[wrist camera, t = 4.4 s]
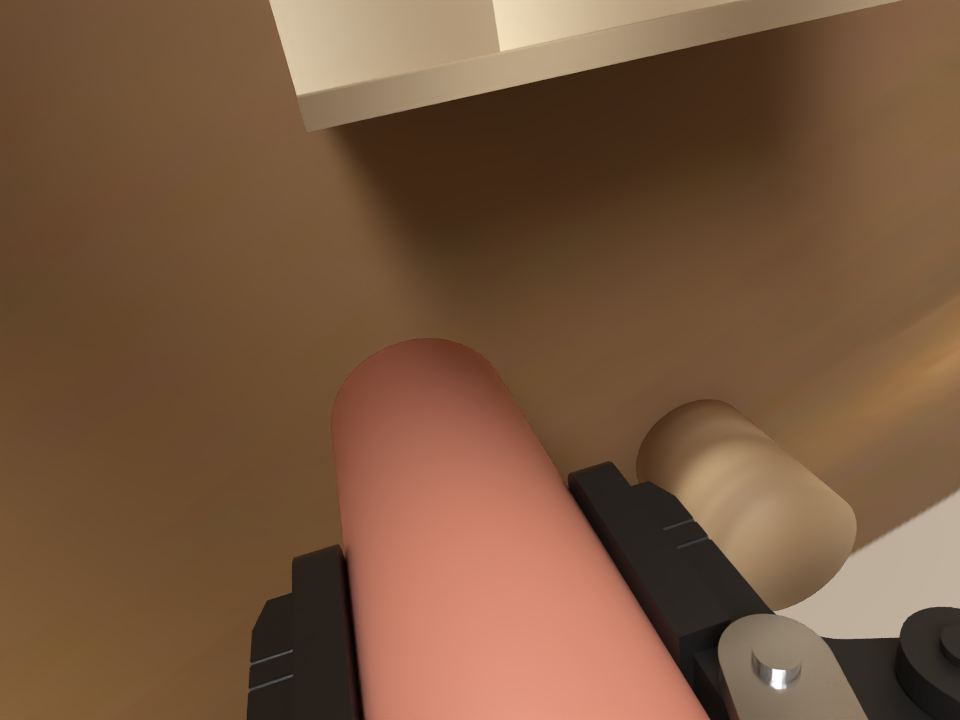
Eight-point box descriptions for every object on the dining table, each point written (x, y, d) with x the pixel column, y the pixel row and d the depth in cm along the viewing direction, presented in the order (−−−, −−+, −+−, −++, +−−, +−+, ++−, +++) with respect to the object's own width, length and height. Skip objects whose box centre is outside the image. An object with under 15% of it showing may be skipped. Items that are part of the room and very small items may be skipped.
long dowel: (357, 513, 16) (495, 1485, 5) (307, 366, 14) (370, 1431, 3) (518, 464, 16) (935, 1248, 6) (492, 317, 14) (1042, 1085, 4)
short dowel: (640, 516, 23) (722, 630, 18) (632, 419, 21) (720, 520, 16) (746, 483, 23) (850, 585, 19) (747, 385, 21) (862, 473, 17)
